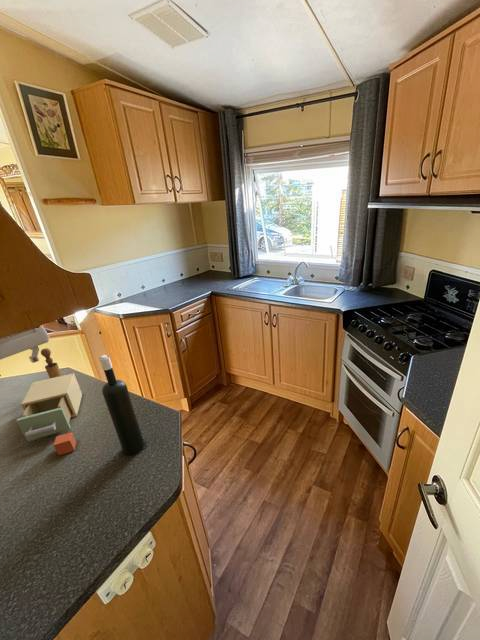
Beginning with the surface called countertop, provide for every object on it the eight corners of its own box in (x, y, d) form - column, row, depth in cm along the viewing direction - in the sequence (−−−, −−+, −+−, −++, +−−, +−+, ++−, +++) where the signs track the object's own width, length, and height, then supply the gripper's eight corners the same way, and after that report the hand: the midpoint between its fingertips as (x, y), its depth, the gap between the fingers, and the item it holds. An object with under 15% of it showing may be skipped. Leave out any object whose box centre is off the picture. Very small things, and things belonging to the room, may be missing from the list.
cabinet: (76, 416, 100) (67, 392, 96) (33, 427, 95) (20, 403, 91) (82, 394, 112) (73, 373, 108) (43, 404, 107) (33, 382, 103)
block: (58, 455, 83) (53, 445, 81) (61, 446, 86) (56, 436, 85) (74, 450, 85) (69, 440, 83) (76, 441, 88) (72, 431, 86)
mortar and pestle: (47, 392, 114) (29, 352, 107) (62, 384, 120) (46, 344, 112) (60, 395, 112) (42, 353, 105) (74, 386, 118) (58, 346, 110)
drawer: (67, 437, 89) (58, 417, 85) (22, 450, 84) (11, 429, 81) (76, 406, 103) (68, 387, 100) (38, 415, 99) (29, 397, 96)
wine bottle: (125, 458, 81) (91, 364, 68) (121, 446, 85) (89, 355, 73) (146, 449, 84) (118, 357, 71) (142, 437, 88) (114, 349, 75)
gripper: (32, 310, 86) (50, 351, 92) (-63, 336, 70) (-34, 384, 76) (43, 312, 83) (61, 355, 89) (-53, 340, 67) (-24, 390, 73)
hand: (16, 369), depth 82 cm, fingers open, 8 cm apart
